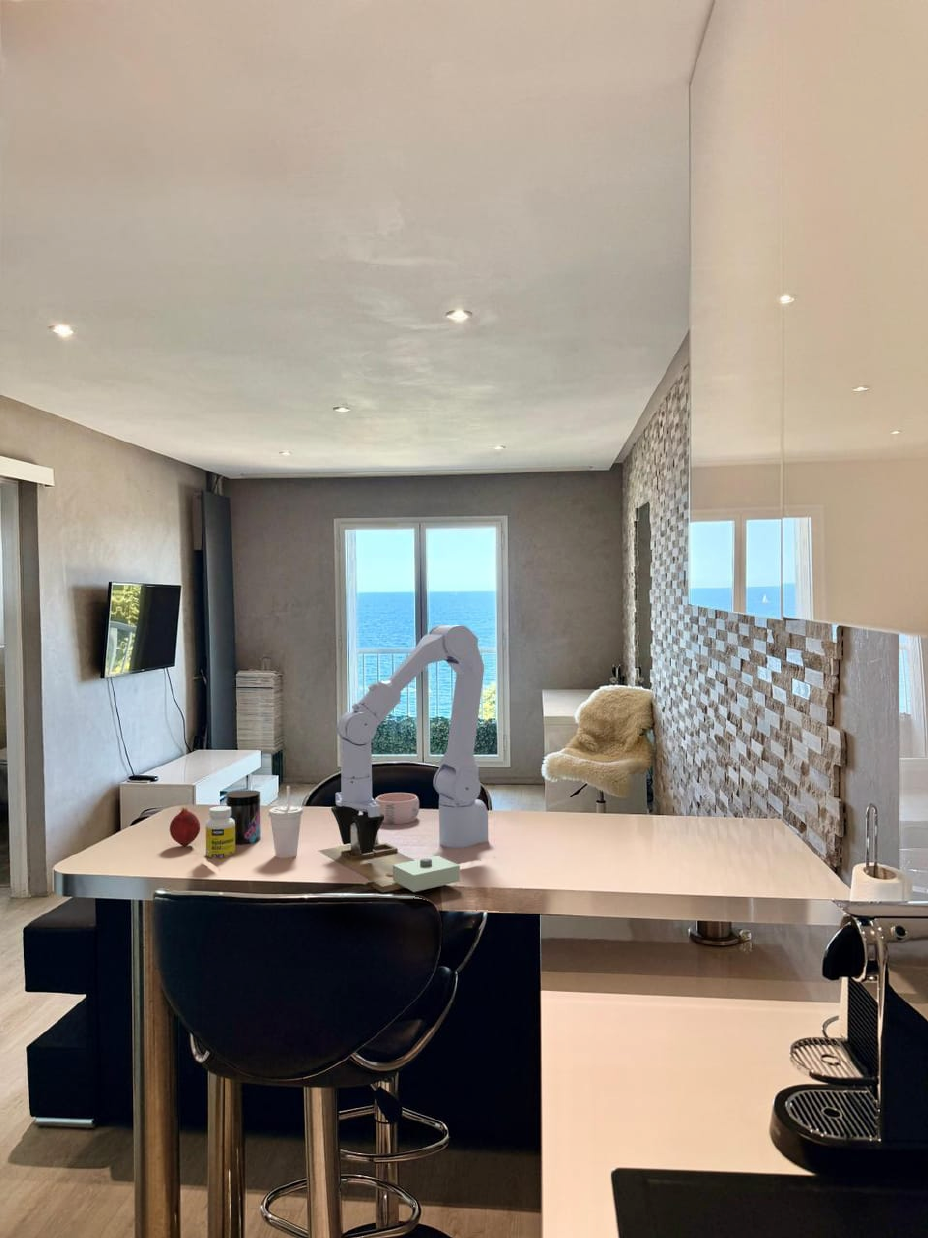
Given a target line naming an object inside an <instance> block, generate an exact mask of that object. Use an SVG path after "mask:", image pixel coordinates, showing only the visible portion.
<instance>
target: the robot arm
mask: <svg viewBox="0 0 928 1238" xmlns="http://www.w3.org/2000/svg"><path fill="white" fill-rule="evenodd" d="M478 643H479V638H478V637H477V636H476V635H475V633H474V632H473V631H472V630H471V629H469V627H467V626H464V625H461V624H459V625H458V624H457V625H447V624H437V625H435V626H434V627H432V628H431V629H430V630H429V632H428V633H427V634H425V635H424V636H423V637H421V639H420V641H419V642H418V644H417V645H416V646H415V647H414V649H412V651H411V652H410V653H409V654H408V656H407V657H406V658H405V659H404V660H403V661H402V663H401V664H400V665H399V666H398V667H397V669H396V670H395V671H394V672H393V673H392V675H391V676H390V677H389V678H388V679H387V680H379V681H377V682H376V683H374V682H373V683H371V684H370V685H369V686H368V687H367V688H368V690H369V691H368V692H367V693H365V694H364V696H363V697H362V698H361V699H360V700H359V701H358V702H357V703H355V702H354V703H353V704H352V705H351V708H352V710H349V711H347V712H345V713H343V714H342V715H341V716H340V718H339V719H338V724H337V725H335V729H336V733H337V735H338V736H339V737H340V738H341V739H340V741H341V743H340V747H341V750H340V769H341V770H340V774H341V778H340V779H341V784H340V785H341V786H340V787H341V792H336V793H335V805H336V806H332V807H331V808H330V810H331V811H330V812H332V814H333V817H334V818H335V820H336V823H337V826H338V829H339V833H340V837H341V841H342V844H343V846H346V845H351V824H353V823H355V825H356V827H357V831H358V836H359V845H360V850H361V853H362V854H366V853H371V852H373V849H374V844H375V840H376V836H377V833H378V832H379V830H380V827H381V825H382V824H383V823H382V822H383V820H384V815H383V814H380V805H378V804H376V802H375V799H374V797H373V768H372V767H373V766H372V765H373V763H372V762H373V760H372V759H373V758H372V757H373V756H372V753H373V752H372V740H373V739H374V738H375V737H376V734H377V728H378V726H379V725H380V724H382V722H384V720H386V718H387V716H388V715H390V713H391V712H392V711H393V710H394V709H395V708H396V707H397V705H399V704H400V702H401V700H402V699H401V697H402V695H401V694H402V691H403V690H404V689H405V688H406V687H407V686H409V684H410V683H411V682H412V681H413V680H414V679H415V678H416V677H417V676H418V675H419V674H420V673H421V672H422V671H423V670H425V668H426V667H427V666H429V665H430V664H432V663H437V662H441V661H445V662H446V663H447V664H448V665H449V667H450V668H451V669H452V670H453V671H454V673H455V674H456V676H455V685H454V692H453V698H452V699H453V700H452V707H451V716H450V723H449V730H448V741H447V745H446V746H447V748H446V752H445V753H444V754H443V756H442V757H441V758H440V761H439V762H440V763H439V766H438V769H437V770H436V772H435V774H434V775H433V776H434V777H433V787H434V790H435V791H436V792H437V794H438V795H439V796H438V797H439V798H438V827H439V828H438V829H439V830H438V831H439V832H438V833H439V834H438V840H439V843H438V844H439V845H440V846H443V847H447V848H458V849H459V848H465V847H466V848H467V847H471V846H474V845H477V844H481V843H482V844H483V843H486V842H489V814H488V813H489V811H488V807H487V805H486V804H485V802H484V801H483V800H481V799H478V798H479V796H480V792H481V789H482V787H481V786H482V785H481V781H480V777H479V769H480V767H479V765H478V763H477V761H476V758H475V755H474V754H475V753H474V752H475V748H476V747H475V746H476V737H477V730H478V723H479V714H480V708H481V707H480V706H481V705H480V704H481V697H482V690H483V689H482V688H483V683H484V674H485V664H484V661H483V659H482V656H481V652H480V648H479V647H478ZM360 813H362V814H360Z"/></svg>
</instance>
